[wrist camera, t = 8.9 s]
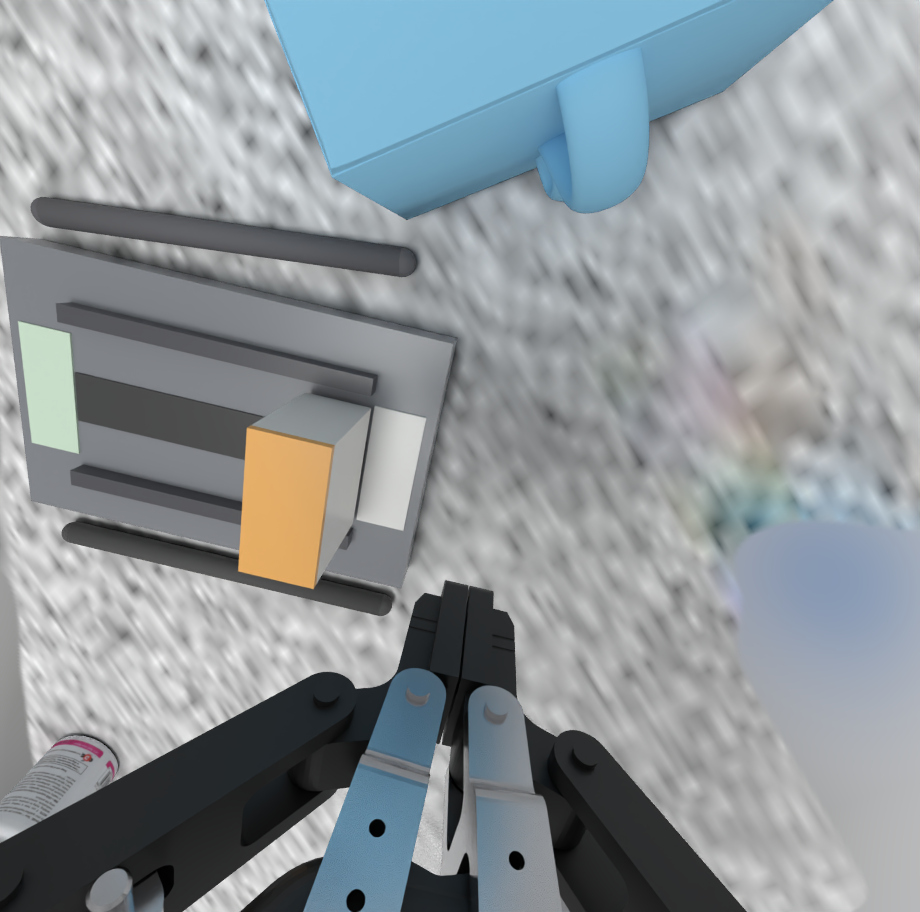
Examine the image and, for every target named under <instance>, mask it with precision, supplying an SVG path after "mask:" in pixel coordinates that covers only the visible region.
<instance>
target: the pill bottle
mask: <svg viewBox="0 0 920 912" xmlns="http://www.w3.org/2000/svg"><path fill="white" fill-rule="evenodd" d="M117 769H118V763H117V760H116V758H115V756H114V755H113V753H112V752H111V751H110V750H109V749H108V748H107V747H106V746H105V745H104V744H102V743H101V742H99V741H97V740H95V739H93V738H90V737H86V736H79V735H74V736H68V737H65V738H62V739H61V740H59V741H58V742H57V743H56V744H55V745H54V746H53V747H52V748H51V749H50V750H49V751H48V752H47V753H46V754H45V755H44V756H43V757H42V758H41V759H40V760H39V761H38V763H37V764H36V765H35V766H34V767H33V768H32V769H31V770H30V771H29V772H28V773H27V774H26V775H25V776H24V777H23V778H22V780H21V781H20V782H19V783H18V784H17V785H16V786H15V787H14V788H13V789H12V790H11V791H10V792H9V793H8V795H6V797H5V798H4V799H3V800H2V801H1V802H0V843H1V842H3V841H5V840H7V839H9V838H11V837H12V836H14V835H16V834H18V833H20V832H22V831H24V830H25V829H27V828H29V827H31V826H33V825H35V824H37V823H38V822H40V821H42V820H44V819H46V818H48V817H50V816H51V815H53V814H55V813H57V812H59V811H61V810H63V809H64V808H66V807H68V806H70V805H72V804H74V803H76V802H77V801H79V800H81V799H83V798H85V797H87V796H89V795H90V794H92V793H94V792H96V791H98V790H100V789H102V788H103V787H105V786H107V785H108V784H109V783H110V782H111V781H112V779H113V778H114V776H115V774H116V772H117Z"/></svg>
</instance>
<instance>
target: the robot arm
mask: <svg viewBox="0 0 920 912" xmlns="http://www.w3.org/2000/svg"><path fill="white" fill-rule="evenodd" d="M514 640H515V637H514V625H513V623H512V621H511V619H510V617H509V615H508V613H507V612H504V611H500V610H496V609H493V591H490V590H486V589H482V588H477V587H473V586H470V587H469V590H468V585H464V584H460V583H456V582H451V581H447V580H445V583H444V587H443V591H442V595H441V597H440V596H436V595H432V594H427V593H424V594H423V595H422V596H421V597H420V598H419V599H418V600H417V601H416V602H415V605H414V609H413V613H412V617H411V621H410V625H409V629H408V632H407V636H406V640H405V644H404V648H403V652H402V655H401V659H400V663H399V667H398V670H397V672H396V674H395V675H394V676H393V677H392V679H390V680H389V681H388V682H386V683H385V684H383V685H380V686H377V687H373V688H362V689H355V687H354V685H353V683H352V682H351V681H350V680H349V679H348V678H346V677H345V676H343V675H341V674H338V673H334V672H321V673H317V674H314V675H312V676H310V677H308V678H306V679H304V680H302V681H300V682H298V683H297V684H295V685H293V686H291V687H289V688H287V689H285V690H284V691H282V692H280V693H278V694H276V695H274V696H272V697H271V698H269V699H267V700H265V701H263V702H261V703H259V704H258V705H256V706H254V707H252V708H250V709H248V710H246V711H245V712H243V713H241V714H239V715H237V716H235V717H233V718H232V719H230V720H228V721H226V722H224V723H222V724H220V725H219V726H217V727H215V728H213V729H211V730H209V731H207V732H206V733H204V734H202V735H200V736H198V737H196V738H194V739H193V740H191V741H189V742H187V743H185V744H183V745H181V746H180V747H178V748H176V749H174V750H172V751H170V752H168V753H167V754H165V755H163V756H161V757H159V758H157V759H155V760H154V761H152V762H150V763H148V764H146V765H144V766H142V767H141V768H139V769H137V770H135V771H133V772H131V773H129V774H128V775H126V776H124V777H122V778H120V779H118V780H116V781H115V782H113V783H111V784H109V785H107V786H105V787H103V788H102V789H100V790H98V791H96V792H94V793H92V794H90V795H89V796H87V797H85V798H83V799H81V800H79V801H77V802H76V803H74V804H72V805H70V806H68V807H66V808H64V809H63V810H61V811H59V812H57V813H55V814H53V815H51V816H50V817H48V818H46V819H44V820H42V821H40V822H38V823H37V824H35V825H33V826H31V827H29V828H27V829H25V830H24V831H22V832H20V833H18V834H16V835H14V836H12V837H11V838H9V839H7V840H5V841H3V842H1V843H0V912H183V911H184V910H185V909H187V908H188V907H189V906H190V905H192V904H193V903H194V902H196V901H197V900H198V899H199V898H201V897H202V896H203V895H205V894H206V893H207V892H209V891H210V890H211V889H212V888H214V887H215V886H216V885H218V884H219V883H220V882H221V881H223V880H224V879H225V878H227V877H228V876H229V875H231V874H232V873H233V872H234V871H236V870H237V869H238V868H240V867H241V866H242V865H244V864H245V863H246V862H247V861H249V860H250V859H251V858H253V857H254V856H255V855H256V854H258V853H259V852H260V851H262V850H263V849H264V848H266V847H267V846H268V845H269V844H271V843H272V842H273V841H275V840H276V839H277V838H278V837H280V836H281V835H282V834H284V833H285V832H286V831H288V830H289V829H290V828H291V827H293V826H294V825H295V824H297V823H298V822H299V821H300V820H302V819H303V818H304V817H306V816H307V815H308V814H310V813H311V812H312V811H313V810H315V809H316V808H317V807H319V806H320V805H321V804H323V803H324V802H325V801H326V800H328V799H329V798H330V797H331V796H332V795H333V794H334V793H335V792H336V791H337V789H340V788H348V787H349V790H348V793H347V796H346V798H345V801H344V804H343V806H342V809H341V812H340V814H339V817H338V820H337V822H336V825H335V828H334V830H333V833H332V836H331V838H330V841H329V844H328V847H327V849H326V852H325V855H324V857H321V858H317V859H313V860H311V861H308V862H305V863H303V864H301V865H299V866H297V867H295V868H293V869H291V870H290V871H288V872H287V873H285V874H284V875H282V876H281V877H280V878H278V879H277V880H276V881H274V882H273V883H272V884H271V885H270V886H269V887H267V888H266V889H265V890H264V891H263V892H262V893H261V894H260V895H258V896H257V897H256V898H255V899H254V900H253V901H252V902H251V903H249V904H248V905H247V906H246V907H245V908H244V909H243V910H242V911H240V912H746V910H745V909H744V908H743V907H742V906H741V905H740V903H739V902H738V901H737V900H736V899H735V898H734V897H733V895H732V894H731V893H730V892H729V891H728V890H727V888H726V887H725V886H724V885H723V884H722V883H721V882H720V880H719V879H718V878H717V877H716V876H715V875H714V873H713V872H712V871H711V870H710V869H709V868H708V867H707V865H706V864H705V863H704V862H703V861H702V860H701V858H700V857H699V856H698V855H697V854H696V853H695V852H694V850H693V849H692V848H691V847H690V846H689V845H688V843H687V842H686V841H685V840H684V839H683V838H682V837H681V835H680V834H679V833H678V832H677V831H676V830H675V828H674V827H673V826H672V825H671V824H670V823H669V822H668V820H667V819H666V818H665V817H664V816H663V815H662V813H661V812H660V811H659V810H658V809H657V808H656V807H655V805H654V804H653V803H652V802H651V801H650V800H649V798H648V797H647V796H646V795H645V794H644V793H643V792H642V790H641V789H640V788H639V787H638V786H637V785H636V783H635V782H634V781H633V780H632V779H631V778H630V777H629V775H628V774H627V773H626V772H625V771H624V770H623V768H622V767H621V766H620V765H619V764H618V763H617V762H616V760H615V759H614V758H613V757H612V756H611V755H610V753H609V752H608V751H607V750H606V749H605V748H604V747H603V745H602V744H601V743H600V742H598V741H597V740H596V739H595V738H593V737H592V736H590V735H588V734H586V733H584V732H581V731H576V730H569V731H565V732H563V733H561V734H560V735H559V736H558V737H556V736H554V735H552V734H550V733H548V732H546V731H545V730H543V729H541V728H539V727H538V726H536V725H535V724H534V723H532V722H531V721H530V720H529V719H528V718H527V717H526V716H525V714H524V713H523V709H522V707H521V705H520V703H519V701H518V700H517V695H516V667H515V642H514ZM443 730H444V731H443ZM442 733H443V739H442V745H446V746H450V747H451V754H450V762H449V765H448V768H447V772H446V775H445V790H444V817H443V844H442V863H441V871H440V876H439V875H435V874H433V873H431V872H429V871H427V870H426V869H424V868H422V867H421V866H419V865H417V864H415V863H414V862H412V856H413V852H414V847H415V842H416V838H417V833H418V829H419V824H420V820H421V815H422V811H423V806H424V802H425V797H426V792H427V788H428V783H429V778H430V774H429V773H430V768H431V763H432V759H433V754H434V750H435V745H436V743H437V744H439V743H440V740H441V736H442Z"/></svg>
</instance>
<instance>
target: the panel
mask: <svg viewBox="0 0 920 912" xmlns="http://www.w3.org/2000/svg"><path fill="white" fill-rule="evenodd" d="M0 245H1V254H2V262H3V270H4V279H5V287H6V295H7V303H8V312H9V320H10V328H11V337H12V345H13V353H14V362H15V370H16V378H17V387H18V395H19V403H20V411H21V420H22V428H23V436H24V445H25V453H26V461H27V470H28V478H29V486H30V495H31V501H34V502H38V503H42V504H47V505H51V506H55V507H59V508H63V509H68V510H72V511H76V512H80V513H85V514H89V515H93V516H97V517H101V518H106V519H110V520H114V521H118V522H122V523H127V524H131V525H135V526H139V527H144V528H148V529H152V530H156V531H160V532H165V533H169V534H173V535H177V536H182V537H186V538H190V539H194V540H198V541H203V542H207V543H211V544H215V545H219V546H224V547H228V548H232V549H236V550H239V549H240V533H241V516H242V500H243V484H244V467H245V451H246V434H247V427H249V426H251V425H252V424H254V423H256V422H257V421H259V420H261V419H262V418H264V417H266V416H267V415H269V414H271V413H272V412H274V411H276V410H277V409H279V408H281V407H282V406H284V405H286V404H287V403H289V402H291V401H292V400H294V399H296V398H297V397H299V396H301V395H302V394H304V393H310V394H314V395H319V396H323V397H327V398H331V399H335V400H340V401H344V402H348V403H352V404H356V405H361V406H365V407H369V408H371V412H370V419H369V425H368V431H367V438H366V444H365V450H364V457H363V463H362V469H361V475H360V482H359V488H358V494H357V501H356V507H355V513H354V519H353V524H352V526H351V527H350V529H349V531H348V532H347V534H346V536H345V537H344V539H343V541H342V542H341V544H340V546H339V547H338V549H337V551H336V552H335V554H334V556H333V557H332V559H331V561H330V562H329V564H328V566H327V567H326V569H325V571H329V572H333V573H338V574H342V575H346V576H350V577H354V578H359V579H363V580H367V581H371V582H375V583H380V584H384V585H388V586H392V587H397V588H402V585H403V582H404V579H405V575H406V572H407V569H408V566H409V561H410V556H411V552H412V547H413V542H414V538H415V533H416V528H417V524H418V519H419V515H420V510H421V505H422V501H423V496H424V491H425V487H426V482H427V477H428V473H429V468H430V463H431V459H432V454H433V450H434V445H435V440H436V436H437V431H438V426H439V422H440V417H441V412H442V408H443V403H444V398H445V394H446V389H447V385H448V380H449V375H450V371H451V366H452V361H453V357H454V352H455V347H456V343H457V338H454V337H450V336H446V335H442V334H437V333H433V332H429V331H425V330H421V329H416V328H412V327H408V326H404V325H400V324H395V323H391V322H387V321H383V320H379V319H374V318H370V317H366V316H362V315H358V314H353V313H349V312H345V311H341V310H337V309H332V308H328V307H324V306H320V305H316V304H311V303H307V302H303V301H299V300H295V299H290V298H286V297H282V296H278V295H274V294H269V293H265V292H261V291H257V290H253V289H248V288H244V287H240V286H236V285H232V284H227V283H223V282H219V281H215V280H211V279H206V278H202V277H198V276H194V275H190V274H185V273H181V272H177V271H173V270H169V269H164V268H160V267H156V266H152V265H148V264H144V263H139V262H135V261H131V260H127V259H123V258H118V257H114V256H110V255H106V254H102V253H97V252H93V251H89V250H85V249H81V248H76V247H72V246H68V245H64V244H60V243H55V242H51V241H47V240H43V239H33V238H20V237H7V236H0Z"/></svg>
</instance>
